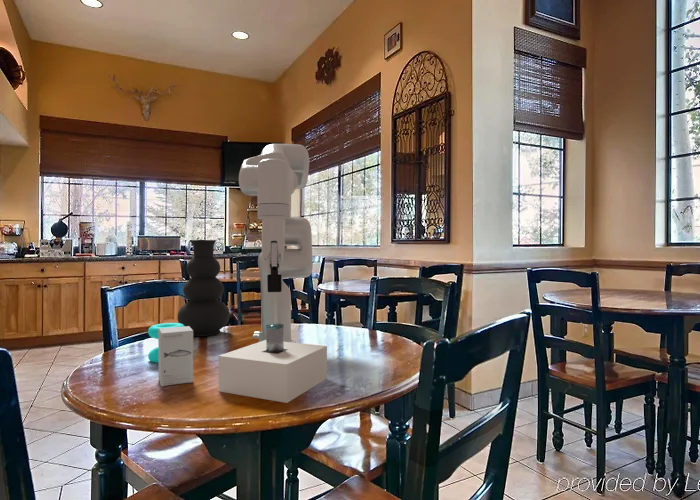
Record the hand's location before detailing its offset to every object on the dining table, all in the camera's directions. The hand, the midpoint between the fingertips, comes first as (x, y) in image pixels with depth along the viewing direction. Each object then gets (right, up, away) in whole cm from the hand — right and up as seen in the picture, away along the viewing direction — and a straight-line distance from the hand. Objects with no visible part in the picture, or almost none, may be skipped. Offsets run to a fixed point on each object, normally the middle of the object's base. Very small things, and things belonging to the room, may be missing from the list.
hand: (274, 291), depth 101 cm
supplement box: (-25, -22, +4) cm, 33 cm away
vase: (-37, -22, +60) cm, 74 cm away
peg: (0, -16, +1) cm, 16 cm away
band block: (0, -22, +1) cm, 22 cm away
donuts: (-35, -22, +24) cm, 48 cm away
